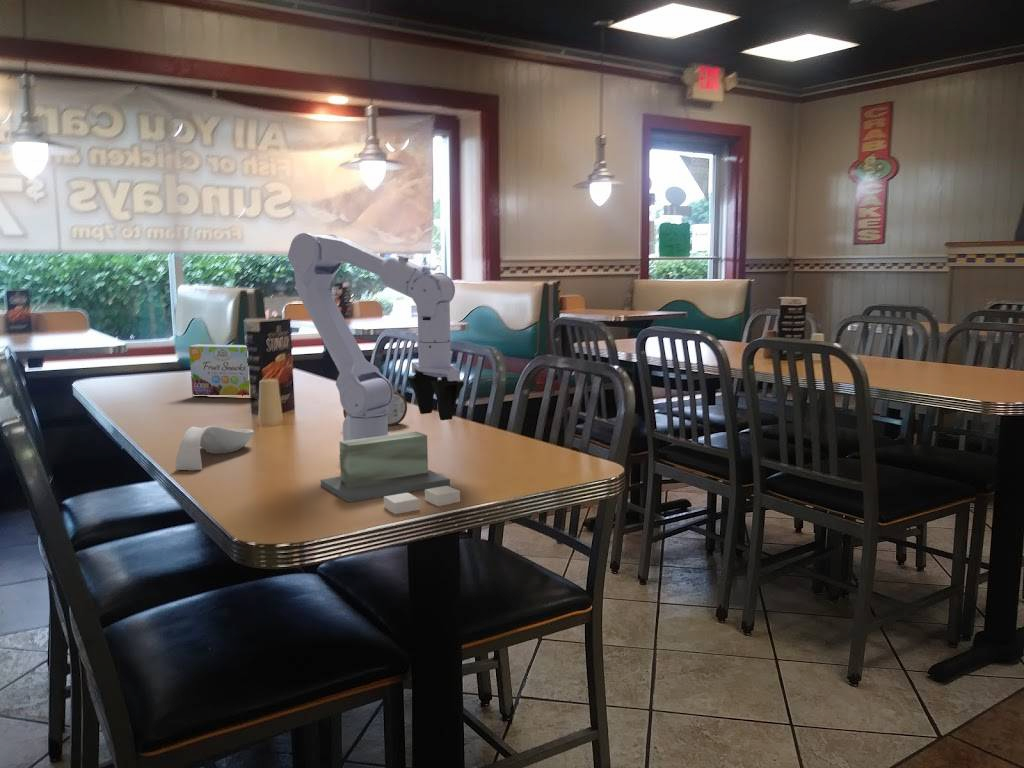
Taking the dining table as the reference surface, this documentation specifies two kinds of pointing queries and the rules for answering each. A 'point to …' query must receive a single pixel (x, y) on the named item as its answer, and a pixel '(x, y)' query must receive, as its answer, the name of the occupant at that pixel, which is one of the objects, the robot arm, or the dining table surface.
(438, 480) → the slate board
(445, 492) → the chalk tile
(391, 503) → the chalk tile
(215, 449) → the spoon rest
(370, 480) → the block
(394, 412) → the tin
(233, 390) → the snack box
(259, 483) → the dining table surface
